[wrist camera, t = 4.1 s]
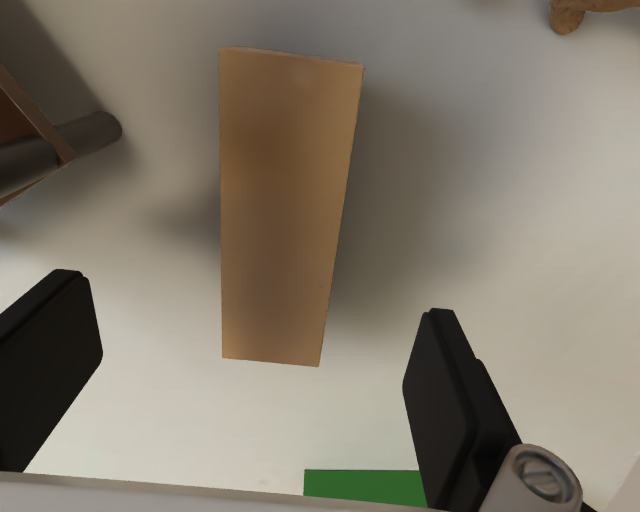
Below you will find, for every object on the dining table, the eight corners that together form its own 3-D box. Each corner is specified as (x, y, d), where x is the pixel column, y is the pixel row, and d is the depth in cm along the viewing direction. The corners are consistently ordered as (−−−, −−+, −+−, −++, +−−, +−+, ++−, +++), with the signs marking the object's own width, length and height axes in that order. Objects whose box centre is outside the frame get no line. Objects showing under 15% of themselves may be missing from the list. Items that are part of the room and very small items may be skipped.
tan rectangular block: (356, 59, 16) (365, 65, 12) (320, 309, 23) (318, 368, 19) (245, 45, 16) (218, 47, 12) (240, 301, 22) (221, 358, 18)
